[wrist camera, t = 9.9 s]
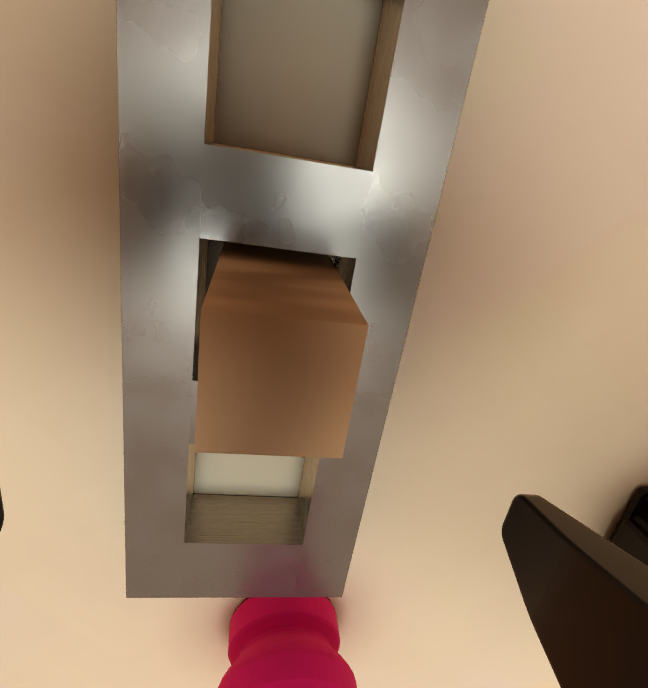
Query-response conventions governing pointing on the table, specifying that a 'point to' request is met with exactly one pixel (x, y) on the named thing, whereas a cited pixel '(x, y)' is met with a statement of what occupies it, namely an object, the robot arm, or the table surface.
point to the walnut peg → (277, 355)
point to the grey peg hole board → (277, 232)
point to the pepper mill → (286, 645)
